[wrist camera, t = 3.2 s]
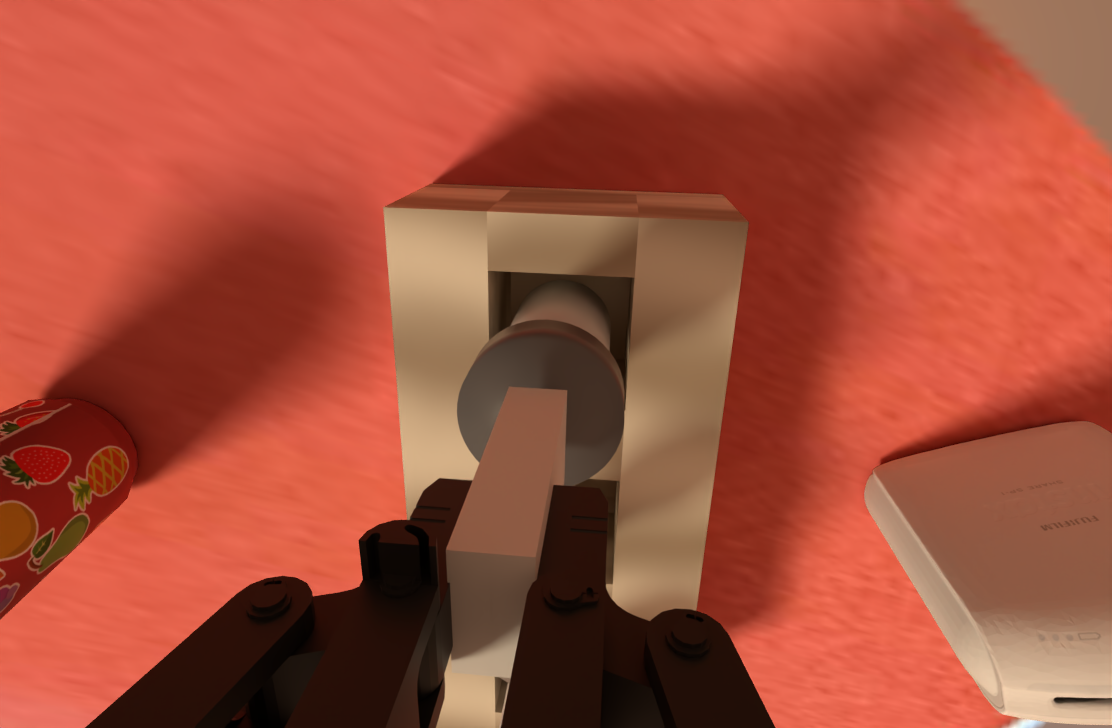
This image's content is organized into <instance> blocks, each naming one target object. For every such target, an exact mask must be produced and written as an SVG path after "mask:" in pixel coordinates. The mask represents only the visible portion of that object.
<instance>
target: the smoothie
mask: <svg viewBox="0 0 1112 728" xmlns="http://www.w3.org/2000/svg"><path fill="white" fill-rule="evenodd" d="M137 468H138V459H137V451H136V448H135V446H134V443H133V441H132V439H131V436H130V435H129V434H128V432H127V431H126V430H125V428H124V427H123V426H122V424H121V423H120V422H119V421H118V420H117V419H115V418H114V417H113V416H112V415H110V414H109V413H108V412H107V411H105V410H104V409H102V408H100V407H98V406H96V405H94V404H92V403H90V402H87V401H82V400H78V399H73V398H66V399H55V400H52V399H38V400H28V401H26V402H24V403H22V404H20V405H17V406H15V407H13V408H11V409H8V410H6V411H4V412H2V413H0V619H1V618H2V617H4V616H5V615H6V614H7V613H8V612H9V611H10V610H11V609H12V608H13V607H14V606H15V605H16V604H17V603H18V602H19V601H20V600H21V599H22V598H23V597H25V596H26V595H27V594H28V593H29V592H30V591H31V590H32V589H33V588H34V587H35V586H36V585H37V584H38V583H39V582H40V581H41V580H42V579H43V578H45V577H46V576H47V575H48V574H49V573H50V572H51V571H52V570H53V569H54V568H55V567H56V566H57V565H58V564H59V563H60V562H61V561H62V560H63V559H64V558H66V557H67V556H68V555H69V554H70V553H71V552H72V551H73V550H74V549H75V548H76V547H77V546H78V545H79V544H80V543H81V542H82V541H83V540H84V539H85V538H87V537H88V536H89V535H90V534H91V533H92V532H93V531H94V530H95V529H96V528H97V527H98V526H99V525H100V524H101V523H102V522H103V521H104V520H105V519H107V518H108V517H109V516H110V515H111V514H112V513H113V512H114V511H115V510H116V509H117V508H118V507H119V506H120V505H121V504H122V503H123V502H124V501H125V500H126V499H127V497H128V494H129V491H130V488H131V485H132V480H133V479H134V477H135V474H136V471H137Z"/></svg>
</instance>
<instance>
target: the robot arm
mask: <svg viewBox="0 0 1112 728" xmlns="http://www.w3.org/2000/svg"><path fill="white" fill-rule="evenodd" d="M566 414H567V390H556V389H540V388H524V387H509V388H508V391H507V394H506V396H505V399H504V401H503V404H502V406H501V409H500V412H499V414H498V417H497V419H496V422H495V424H494V427H493V430H492V432H491V435H490V437H489V440H488V442H487V445H486V448H485V450H484V453H483V455H482V458H481V460H480V463H479V466H478V468H477V471H476V473H475V476H474V479H473V480H460V479H446V478H439V479H437V480H436V481H435V482H434V483H432V484H431V485H430V486H428V487H427V488H426V489H425V490H423V492H422V494H421V496H420V498H419V500H418V502H417V504H416V508H414V510H413V512H412V514H411V516H410V520H394V521H390V522H386V523H383V524H379V525H377V526H376V527H374V528H372V529H370V530H368V531H367V532H366V533H365V534H364V535H363V536H362V537H361V538H360V539H359V548H360V557H361V566H362V575H363V581H362V582H361V584H360V586H359V587H357V588H355V589H352V590H348V591H344V592H340V593H333V594H326V595H320V596H313V595H312V591H311V589H310V588H309V586H308V584H307V583H306V582H304V581H302V580H300V579H298V578H295V577H286V576H279V577H273V578H266V579H264V580H261V581H258V582H256V583H253V584H251V585H249V586H248V587H246V588H245V589H243V590H242V591H240V592H239V593H237V594H236V595H235V596H234V597H233V598H232V599H230V600H229V601H228V602H227V603H226V604H225V605H224V606H223V607H221V608H220V609H219V610H218V611H217V612H216V613H215V614H213V615H212V616H211V617H210V618H209V619H208V620H207V621H206V622H204V623H203V624H202V625H201V626H200V627H199V628H198V629H196V630H195V631H194V632H193V633H192V634H191V635H190V636H189V637H187V638H186V639H185V640H184V641H183V642H182V643H181V644H179V645H178V646H177V647H176V648H175V649H174V650H173V651H172V652H170V653H169V654H168V655H167V656H166V657H165V658H164V659H162V660H161V661H160V662H159V663H158V664H157V665H156V666H155V667H153V668H152V669H151V670H150V671H149V672H148V673H147V674H145V675H144V676H143V677H142V678H141V679H140V680H139V681H138V682H136V683H135V684H134V685H133V686H132V687H131V688H130V689H128V690H127V691H126V692H125V693H124V694H123V695H122V696H121V697H119V698H118V699H117V700H116V701H115V702H114V703H113V704H111V705H110V706H109V707H108V708H107V709H106V710H105V711H104V712H102V713H101V714H100V715H99V716H98V717H97V718H96V719H94V720H93V721H92V722H91V723H90V724H89V725H88V726H87V727H85V728H436V726H437V722H438V719H439V716H440V712H441V709H442V705H443V702H444V698H445V675H444V673H445V670H446V667H447V664H448V660H449V657H450V654H451V666H452V673H462V674H472V675H482V676H493V677H503V678H511V679H510V684H509V689H508V694H507V699H506V704H505V709H504V714H503V719H502V724H501V728H775V726H774V724H773V722H772V720H771V718H770V716H769V714H768V712H767V710H766V708H765V706H764V704H763V702H762V700H761V698H760V696H759V694H758V692H757V690H756V688H755V686H754V684H753V682H752V680H751V678H750V676H749V674H748V672H747V670H746V668H745V666H744V664H743V662H742V660H741V658H740V656H739V654H738V652H737V650H736V648H735V646H734V644H733V642H732V640H731V638H730V636H729V635H728V633H727V632H726V631H725V629H724V628H723V627H722V626H721V624H720V623H718V622H717V621H715V620H714V619H713V618H711V617H710V616H708V615H707V614H704V613H701V612H698V611H695V610H692V609H677V608H675V609H671V610H667V611H663V612H661V613H659V614H658V615H657V616H655V617H654V618H653V619H651V621H648V620H646V619H643V618H640V617H637V616H635V615H633V614H631V613H628V612H626V611H625V610H624V609H622V608H621V607H619V606H618V605H617V604H616V603H615V602H614V601H613V600H612V599H611V597H610V595H609V593H608V591H607V589H606V555H607V528H608V501H607V499H606V498H605V496H604V495H603V493H602V491H601V490H600V488H592V487H578V486H564V474H565V444H566Z"/></svg>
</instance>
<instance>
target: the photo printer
mask: <svg viewBox="0 0 1112 728" xmlns="http://www.w3.org/2000/svg"><path fill="white" fill-rule="evenodd" d="M864 499H865V503H866V507H867V509H868V511H869V512H870V514H871V516H872V517H873V519H874V521H875V522H876V524H877V526H878V527H879V529H880V531H881V532H882V534H883V536H884V537H885V539H886V540H887V542H888V544H889V545H890V547H891V549H892V550H893V552H894V554H895V555H896V557H897V559H898V560H899V562H900V564H901V565H902V567H903V568H904V570H905V572H906V573H907V575H908V577H909V578H910V580H911V582H912V583H913V585H914V586H915V588H916V590H917V591H918V593H919V595H920V596H921V598H922V600H923V601H924V603H925V605H926V606H927V608H928V609H929V611H930V613H931V614H932V616H933V618H934V619H935V621H936V623H937V624H938V626H939V628H940V629H941V631H942V632H943V634H944V636H945V637H946V639H947V641H948V642H949V644H950V646H951V647H952V649H953V651H954V652H955V654H956V655H957V657H958V659H959V660H960V662H961V663H962V665H963V666H964V668H965V669H966V670H967V671H968V673H969V674H970V675H971V676H972V677H973V679H974V680H975V682H976V684H977V685H978V687H979V688H980V690H981V692H982V693H983V695H984V696H985V697H986V699H987V700H988V701H989V702H990V704H991V705H992V706H993V707H994V708H995V709H996V710H997V711H998V712H1000V713H1001V714H1004V715H1008V716H1013V717H1018V718H1023V719H1030V720H1037V721H1045V722H1055V723H1067V724H1083V725H1112V433H1110V432H1109V431H1107V430H1106V429H1104V428H1102V427H1101V426H1099V425H1097V424H1095V423H1092V422H1089V421H1075V422H1064V423H1057V424H1051V425H1046V426H1041V427H1035V428H1030V429H1025V430H1020V431H1015V432H1010V433H1005V434H1001V435H996V436H992V437H987V438H983V439H978V440H974V441H969V442H964V443H960V444H956V445H952V446H947V447H944V448H940V449H935V450H931V451H927V452H923V453H919V454H915V455H911V456H907V457H903V458H900V459H896V460H893V461H890V462H887V463H884V464H882V465H879V466H877V467H875V468H874V469H873V474H871V475H870V477H869V479H868V480H867V483H866V486H865V492H864Z"/></svg>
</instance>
